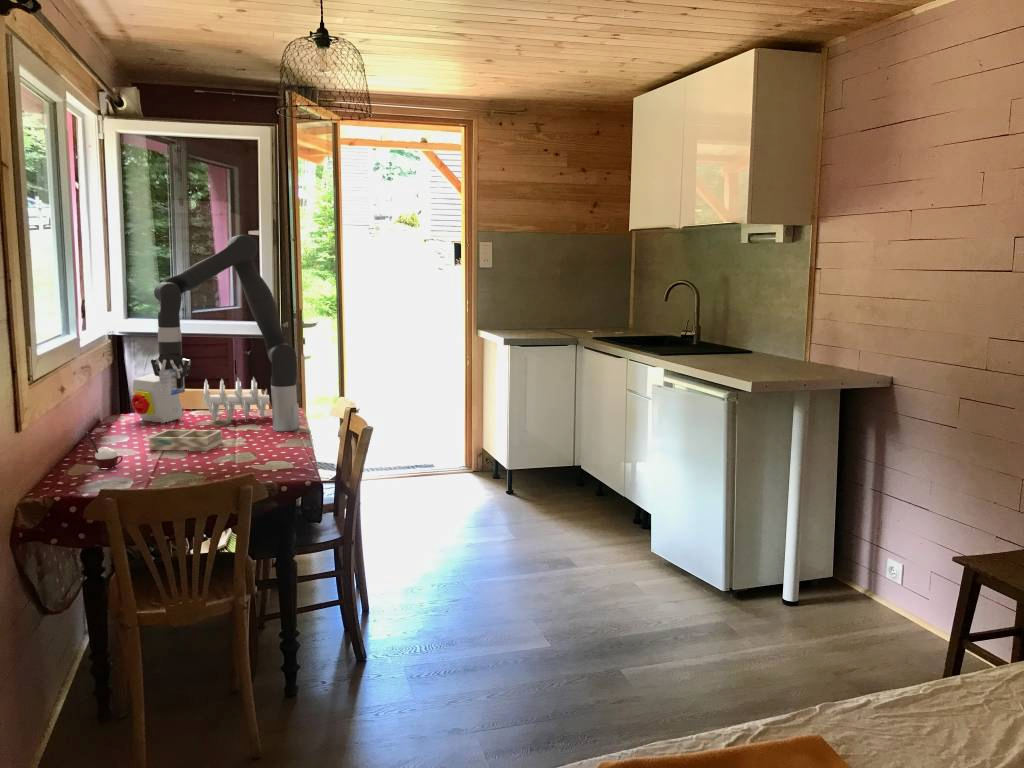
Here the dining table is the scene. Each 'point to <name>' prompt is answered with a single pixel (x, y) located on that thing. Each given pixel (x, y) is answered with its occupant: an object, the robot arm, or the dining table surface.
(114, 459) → the cocoa
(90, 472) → the dining table surface
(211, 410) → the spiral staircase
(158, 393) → the electrical switch box
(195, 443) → the rack
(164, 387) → the medicine box
